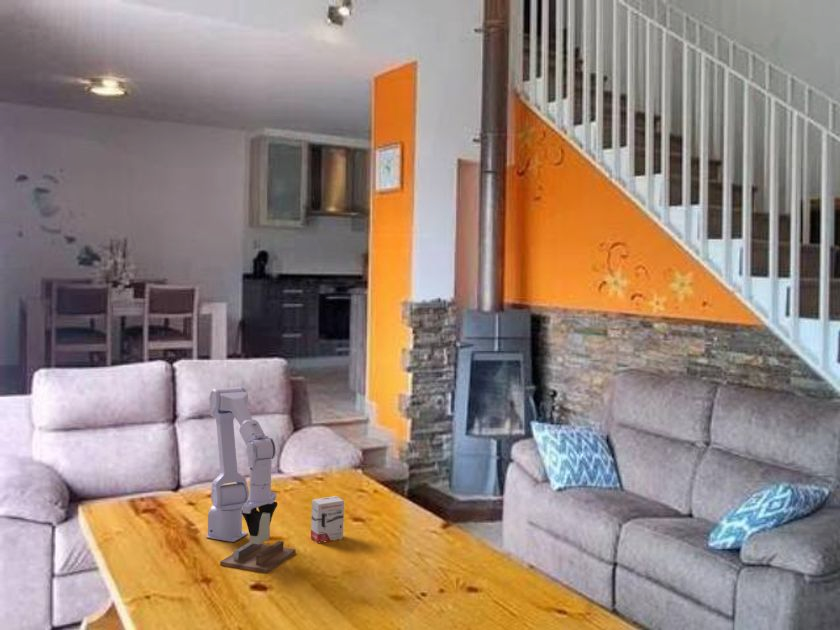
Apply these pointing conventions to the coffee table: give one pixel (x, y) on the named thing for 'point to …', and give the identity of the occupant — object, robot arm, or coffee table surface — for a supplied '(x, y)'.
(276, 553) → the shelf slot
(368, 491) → the coffee table surface
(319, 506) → the ink box
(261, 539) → the white rectangular block
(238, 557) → the grey bar
